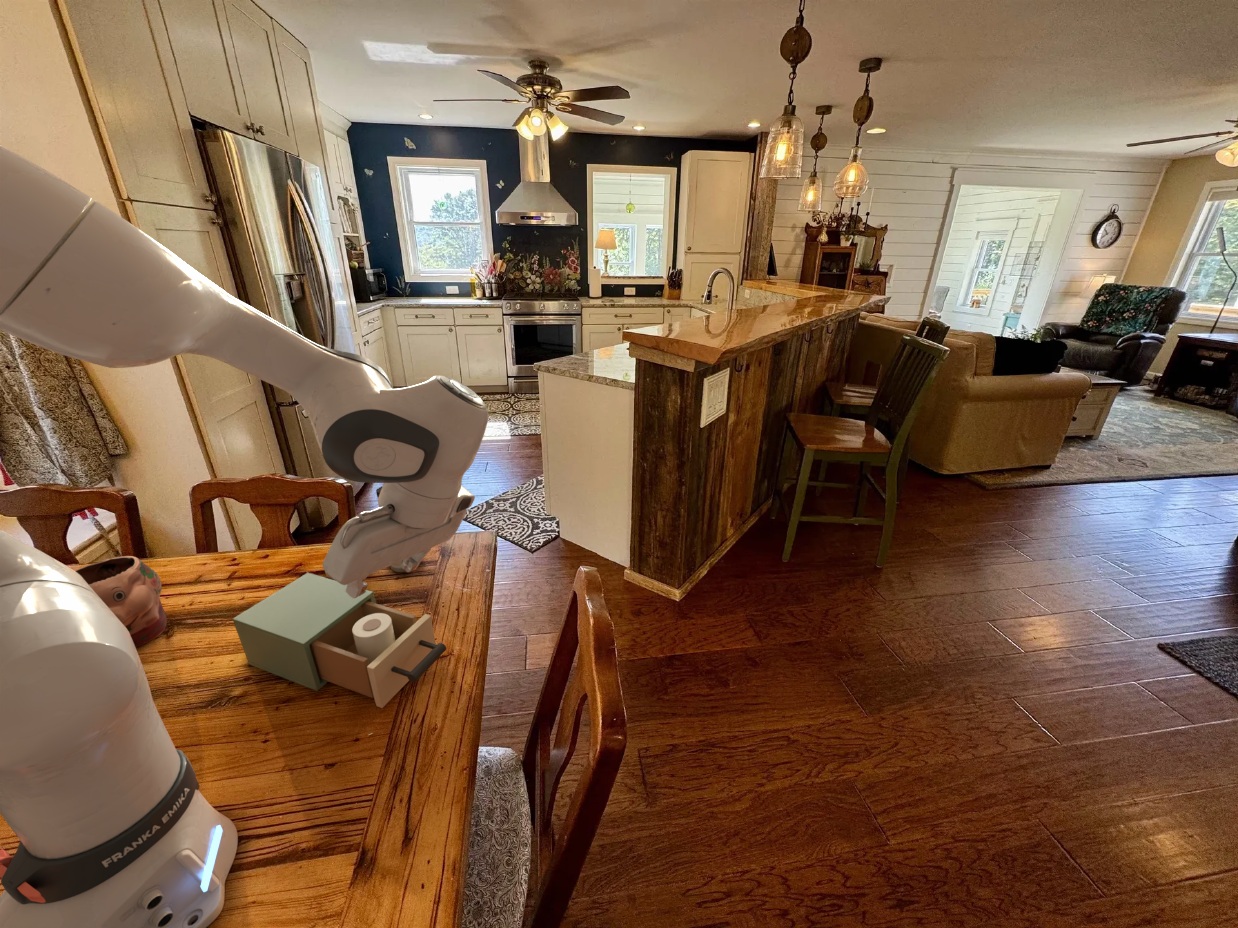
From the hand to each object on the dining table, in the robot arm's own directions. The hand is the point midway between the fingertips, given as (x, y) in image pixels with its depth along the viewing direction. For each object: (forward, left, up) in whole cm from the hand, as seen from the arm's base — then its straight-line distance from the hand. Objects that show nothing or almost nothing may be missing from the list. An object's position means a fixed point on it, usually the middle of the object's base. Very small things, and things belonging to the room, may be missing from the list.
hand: (383, 580), depth 67 cm
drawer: (+3, +7, -22) cm, 23 cm away
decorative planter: (-6, +58, -23) cm, 62 cm away
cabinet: (+3, +23, -23) cm, 32 cm away
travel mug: (+29, +27, -23) cm, 46 cm away
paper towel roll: (+3, +8, -21) cm, 23 cm away
